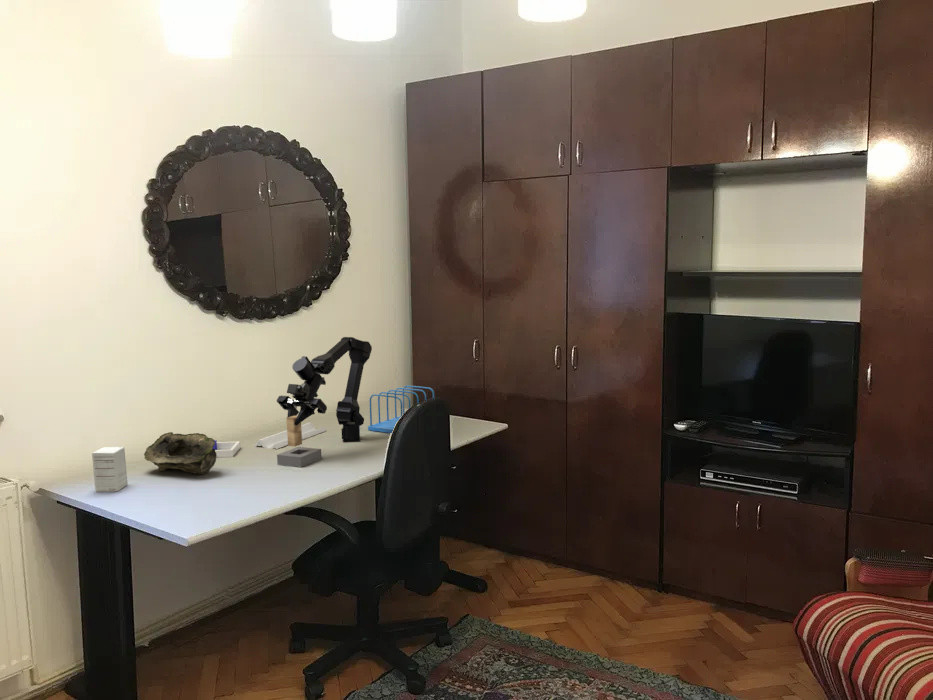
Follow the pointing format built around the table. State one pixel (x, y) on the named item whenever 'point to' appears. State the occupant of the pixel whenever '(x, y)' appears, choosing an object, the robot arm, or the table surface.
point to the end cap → (299, 456)
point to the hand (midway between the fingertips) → (291, 424)
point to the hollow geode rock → (183, 452)
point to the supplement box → (109, 469)
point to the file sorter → (390, 423)
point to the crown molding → (282, 438)
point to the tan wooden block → (293, 432)
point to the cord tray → (227, 445)
